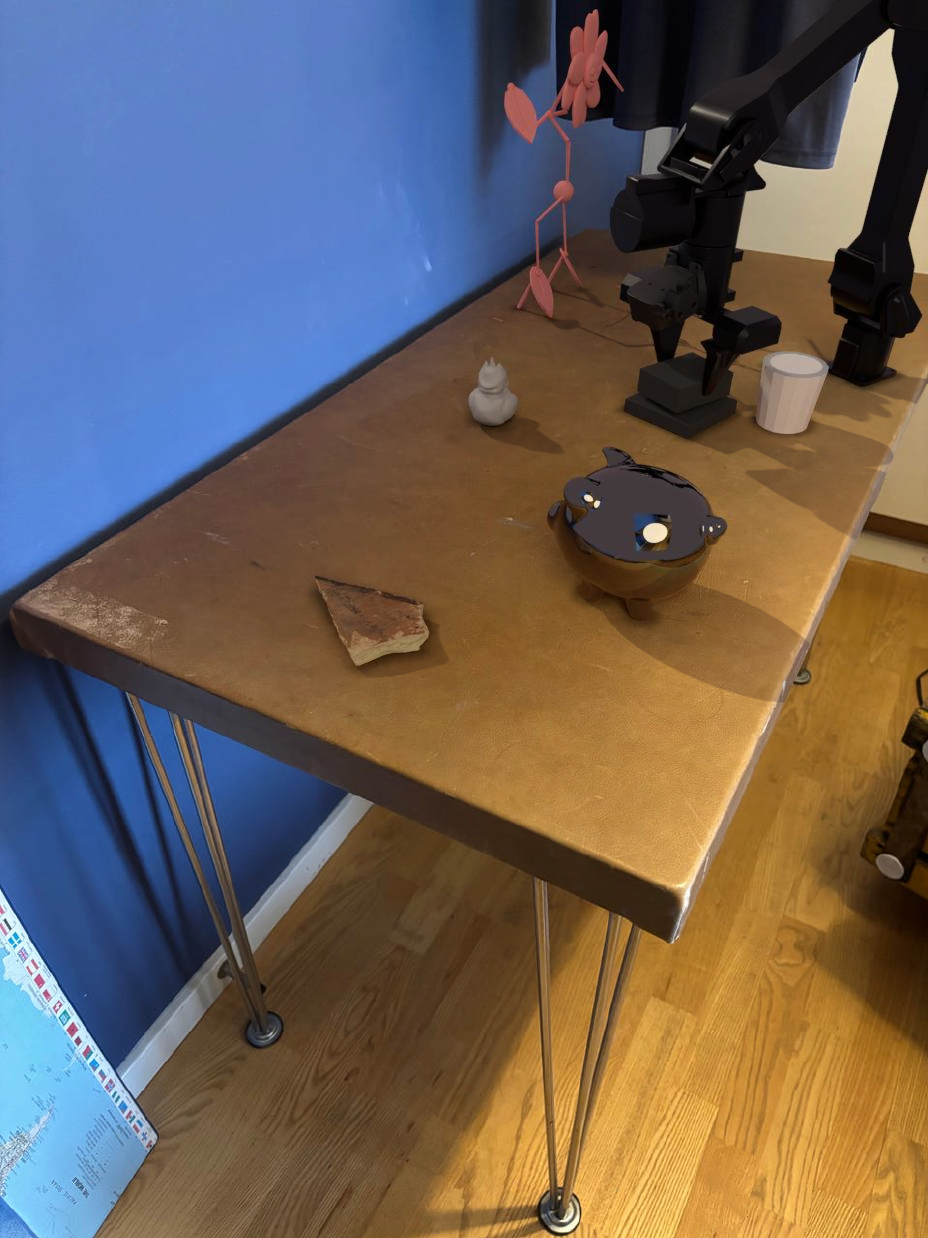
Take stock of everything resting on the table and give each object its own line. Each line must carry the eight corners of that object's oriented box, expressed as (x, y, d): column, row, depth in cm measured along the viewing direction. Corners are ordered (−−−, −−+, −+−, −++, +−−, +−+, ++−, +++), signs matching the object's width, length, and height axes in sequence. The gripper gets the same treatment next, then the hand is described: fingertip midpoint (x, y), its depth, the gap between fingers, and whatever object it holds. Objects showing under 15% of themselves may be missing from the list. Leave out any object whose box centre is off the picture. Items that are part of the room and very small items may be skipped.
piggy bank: (575, 532, 86) (585, 421, 78) (729, 583, 79) (756, 468, 72) (516, 594, 78) (521, 478, 71) (681, 656, 72) (705, 536, 65)
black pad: (688, 374, 107) (692, 351, 105) (729, 395, 102) (733, 372, 101) (636, 391, 103) (639, 367, 101) (676, 413, 99) (680, 389, 97)
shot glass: (815, 439, 99) (832, 379, 95) (751, 433, 100) (764, 373, 96) (810, 411, 105) (826, 352, 100) (749, 405, 106) (761, 347, 101)
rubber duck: (460, 428, 101) (459, 359, 96) (481, 403, 106) (482, 336, 101) (505, 437, 100) (508, 368, 95) (525, 411, 104) (528, 344, 99)
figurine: (484, 327, 123) (489, 20, 101) (562, 270, 141) (581, -3, 118) (589, 349, 118) (618, 29, 95) (657, 287, 135) (695, 4, 113)
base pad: (671, 387, 109) (673, 375, 108) (735, 413, 104) (738, 400, 103) (623, 411, 105) (625, 398, 103) (687, 439, 99) (689, 425, 98)
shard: (316, 589, 79) (313, 572, 78) (400, 570, 81) (399, 554, 80) (348, 669, 71) (347, 651, 70) (441, 646, 73) (441, 629, 72)
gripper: (587, 228, 95) (576, 369, 105) (716, 281, 83) (689, 435, 93) (667, 211, 99) (649, 348, 109) (801, 259, 87) (766, 408, 97)
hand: (684, 383), depth 102 cm, fingers closed on black pad, 6 cm apart
